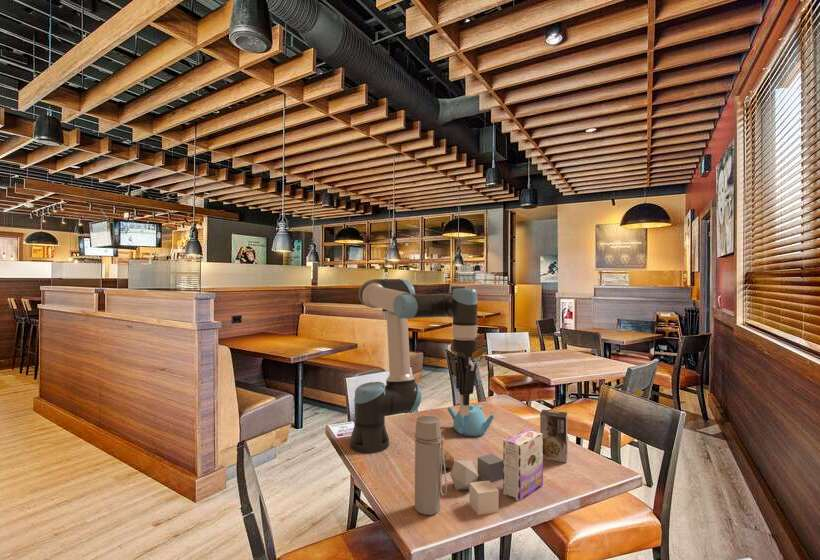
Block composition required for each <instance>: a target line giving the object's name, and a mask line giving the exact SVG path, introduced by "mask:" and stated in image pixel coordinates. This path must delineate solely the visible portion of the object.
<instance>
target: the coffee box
mask: <svg viewBox="0 0 820 560" xmlns="http://www.w3.org/2000/svg"><path fill="white" fill-rule="evenodd" d="M539 428H540V429H539V430H540V431H539V433H542V434H543V460H547V461H555V462H560V463H568V457H569V456H568V455H569V454H568V447H569V446H568V412H566V411H557V410H550V409H541V412H540V413H539Z"/></svg>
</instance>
